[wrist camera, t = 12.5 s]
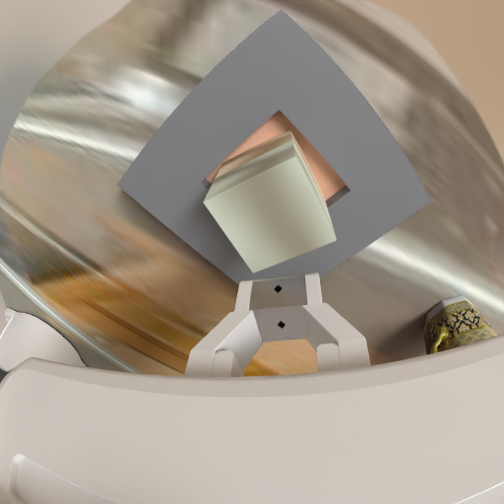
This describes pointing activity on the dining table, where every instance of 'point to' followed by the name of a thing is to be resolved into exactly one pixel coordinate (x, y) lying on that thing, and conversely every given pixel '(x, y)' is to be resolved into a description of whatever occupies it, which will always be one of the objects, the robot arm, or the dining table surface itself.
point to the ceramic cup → (454, 325)
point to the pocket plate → (265, 127)
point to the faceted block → (270, 203)
